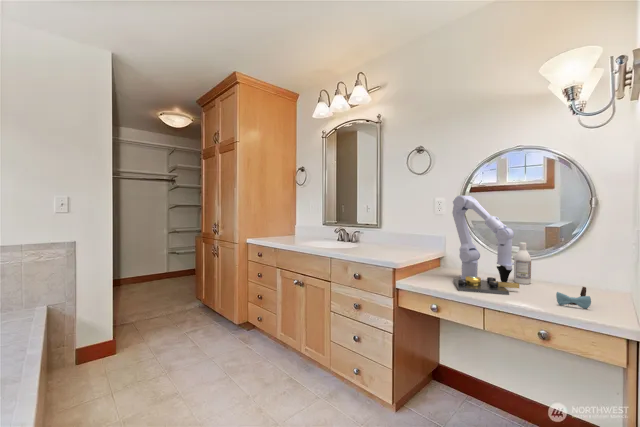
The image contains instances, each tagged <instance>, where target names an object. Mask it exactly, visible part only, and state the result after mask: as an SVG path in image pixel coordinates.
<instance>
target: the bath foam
mask: <svg viewBox="0 0 640 427" xmlns="http://www.w3.org/2000/svg"><path fill="white" fill-rule="evenodd" d="M518 246H519V247H518V248H519V249H518V250H517V252H516V253H515V255H514V257H513V263H514V265H513V283H519V285H520V284H521V285H530V284H531V282H532V281H531V280H532V258H531V255H530V253H529V252H528V250H527V242H519V243H518Z"/></svg>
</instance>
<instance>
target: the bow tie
mask: <svg viewBox="0 0 640 427" xmlns="http://www.w3.org/2000/svg"><path fill="white" fill-rule="evenodd" d="M555 297H556V302H557V304H558V305H559V306H564V305H570V304H569V303H576V304H577V306H578V307H580V308H583V309H586V310H587V309H589V308H590V306H591V304H592V299H591V296H589V295H586V296H582V297H580V296H578V297H573V296H569V295H567V294H565V293H563V292H562V293H561V292H559V291H557V292H556V295H555Z"/></svg>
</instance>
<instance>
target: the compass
mask: <svg viewBox="0 0 640 427" xmlns="http://www.w3.org/2000/svg"><path fill="white" fill-rule="evenodd" d="M582 296H587V287H586V286H581V290H580V296H579V297H582ZM568 305H575V306H576V305H577V304H576V303H569V304H568ZM577 306H578V305H577Z"/></svg>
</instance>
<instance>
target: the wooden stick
mask: <svg viewBox="0 0 640 427" xmlns="http://www.w3.org/2000/svg"><path fill="white" fill-rule="evenodd" d="M497 281H498V280H496V281H489V286H491V287H505V288H506V289H507V288H509V289H520V283H516V282H510V281H509V282H508V281H507V282H501V281H498V282H497Z"/></svg>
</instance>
